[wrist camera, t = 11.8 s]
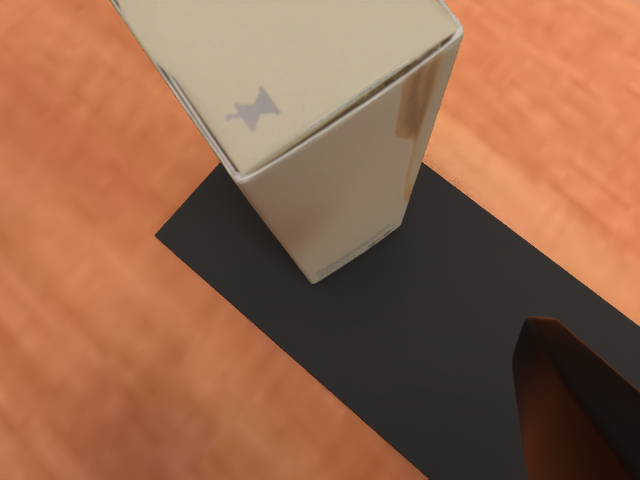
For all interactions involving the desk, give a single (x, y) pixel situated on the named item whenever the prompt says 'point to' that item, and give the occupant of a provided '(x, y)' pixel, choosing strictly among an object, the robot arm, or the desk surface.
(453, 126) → the desk surface
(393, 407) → the mat
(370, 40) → the cosmetic box
